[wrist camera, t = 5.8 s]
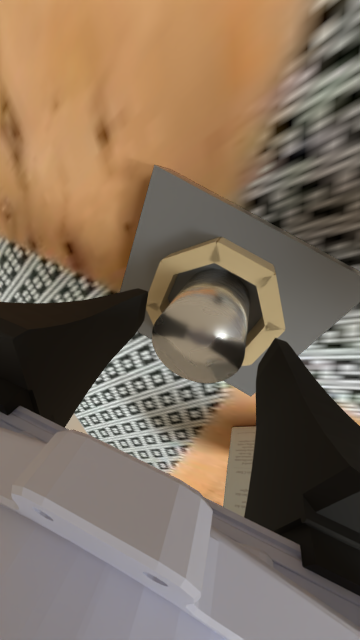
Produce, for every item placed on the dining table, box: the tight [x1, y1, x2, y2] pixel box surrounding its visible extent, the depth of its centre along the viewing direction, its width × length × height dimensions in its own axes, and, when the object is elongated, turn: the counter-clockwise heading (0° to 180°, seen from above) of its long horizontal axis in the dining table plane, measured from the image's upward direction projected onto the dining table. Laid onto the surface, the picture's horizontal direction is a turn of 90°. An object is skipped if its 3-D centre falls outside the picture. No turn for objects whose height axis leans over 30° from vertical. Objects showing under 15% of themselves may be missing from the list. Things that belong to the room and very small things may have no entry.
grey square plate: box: [120, 165, 360, 396], centre depth 14 cm, size 13×11×4 cm
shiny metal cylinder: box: [152, 269, 250, 383], centre depth 12 cm, size 4×4×5 cm
